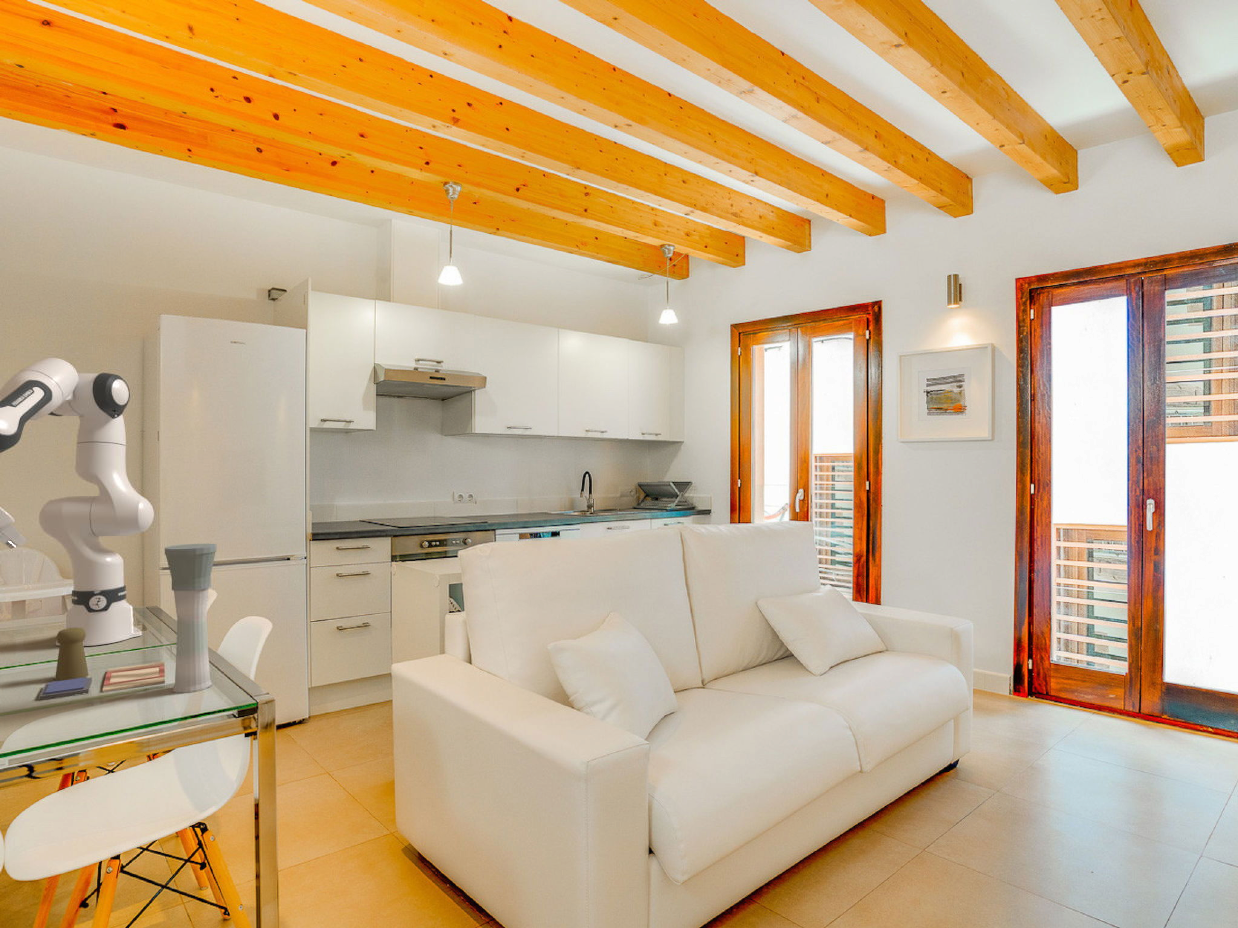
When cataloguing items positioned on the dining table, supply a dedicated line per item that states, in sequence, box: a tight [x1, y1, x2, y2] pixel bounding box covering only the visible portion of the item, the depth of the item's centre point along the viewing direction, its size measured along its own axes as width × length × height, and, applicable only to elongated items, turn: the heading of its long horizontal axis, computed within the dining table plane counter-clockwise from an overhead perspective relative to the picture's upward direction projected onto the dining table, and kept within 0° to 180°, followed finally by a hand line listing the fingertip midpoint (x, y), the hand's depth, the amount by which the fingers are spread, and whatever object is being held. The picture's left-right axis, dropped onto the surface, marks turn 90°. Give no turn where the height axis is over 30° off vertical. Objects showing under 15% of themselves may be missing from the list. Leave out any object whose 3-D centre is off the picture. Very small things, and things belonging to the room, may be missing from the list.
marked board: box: [102, 661, 166, 693], centre depth 161 cm, size 18×11×1 cm, turn 32°
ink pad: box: [38, 676, 93, 701], centre depth 152 cm, size 10×8×1 cm
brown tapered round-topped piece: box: [54, 627, 89, 682], centre depth 162 cm, size 6×6×11 cm
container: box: [164, 543, 217, 694], centre depth 153 cm, size 10×10×30 cm
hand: (19, 545), depth 157 cm, fingers open, 8 cm apart
